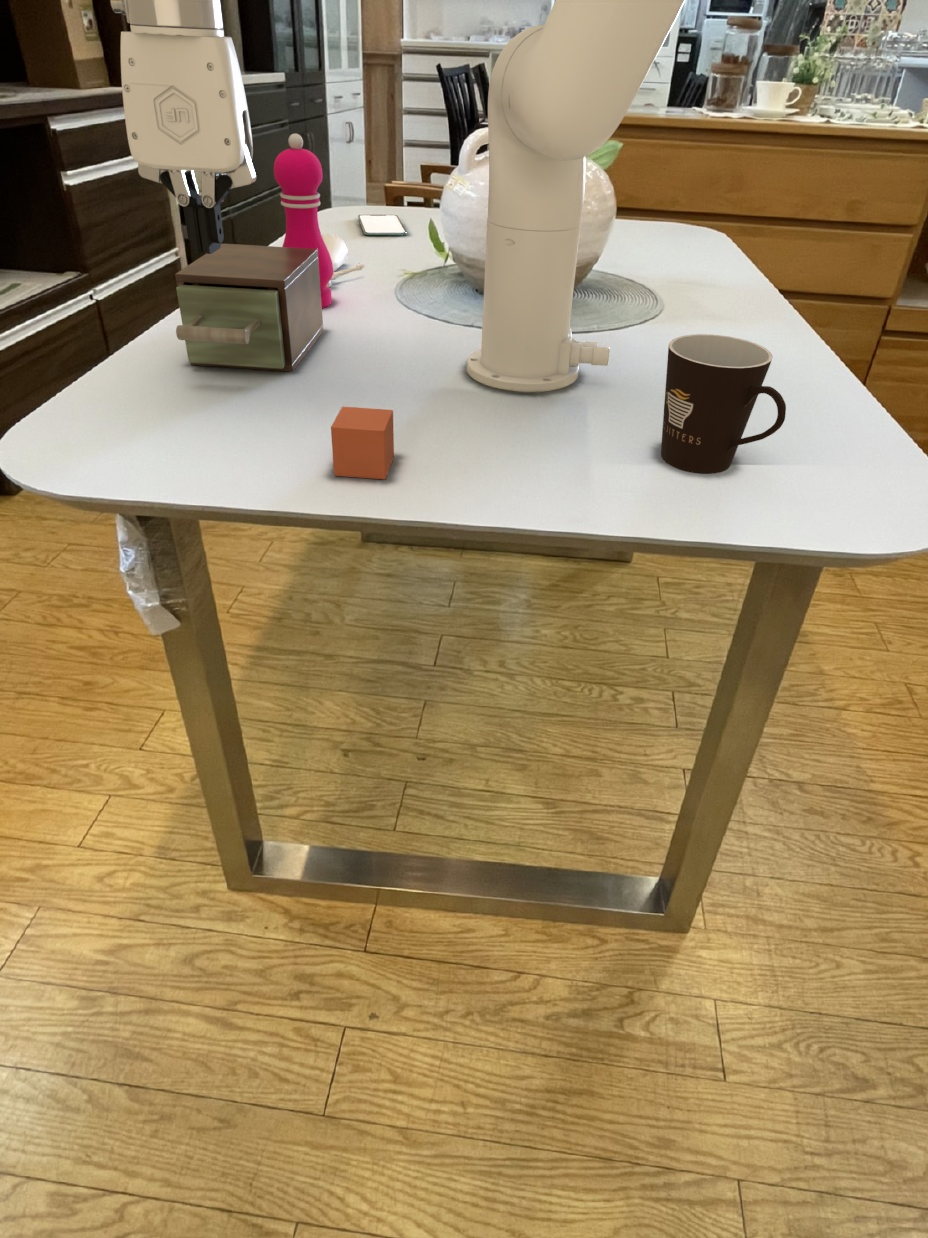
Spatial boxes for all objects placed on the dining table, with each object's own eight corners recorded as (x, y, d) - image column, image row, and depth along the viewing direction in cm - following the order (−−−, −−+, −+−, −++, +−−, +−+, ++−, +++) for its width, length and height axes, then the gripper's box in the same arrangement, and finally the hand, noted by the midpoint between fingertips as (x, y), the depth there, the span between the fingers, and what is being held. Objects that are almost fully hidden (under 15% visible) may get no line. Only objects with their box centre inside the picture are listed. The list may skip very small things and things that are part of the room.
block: (394, 457, 72) (393, 409, 69) (385, 479, 69) (384, 430, 66) (344, 453, 72) (342, 405, 70) (333, 476, 69) (330, 426, 66)
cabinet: (292, 371, 88) (284, 280, 83) (190, 365, 89) (174, 273, 83) (323, 331, 100) (317, 248, 94) (232, 325, 101) (221, 243, 95)
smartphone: (407, 236, 146) (397, 217, 158) (407, 233, 145) (397, 214, 158) (364, 236, 144) (357, 217, 157) (364, 233, 144) (357, 214, 156)
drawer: (267, 387, 82) (258, 309, 77) (168, 381, 83) (153, 302, 78) (312, 330, 97) (307, 262, 93) (229, 325, 98) (219, 257, 93)
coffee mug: (638, 438, 77) (656, 333, 71) (724, 438, 78) (750, 334, 72) (673, 496, 68) (698, 381, 62) (771, 495, 69) (804, 381, 63)
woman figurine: (365, 230, 127) (361, 267, 113) (366, 260, 129) (363, 299, 116) (291, 229, 126) (278, 265, 112) (294, 258, 129) (281, 298, 115)
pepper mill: (325, 312, 106) (313, 138, 94) (273, 308, 107) (255, 134, 95) (342, 298, 112) (333, 132, 100) (293, 294, 113) (278, 128, 101)
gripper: (66, 7, 64) (115, 253, 75) (249, 18, 63) (272, 265, 74) (108, 9, 70) (148, 237, 81) (276, 19, 69) (293, 247, 80)
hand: (207, 249), depth 78 cm, fingers closed
